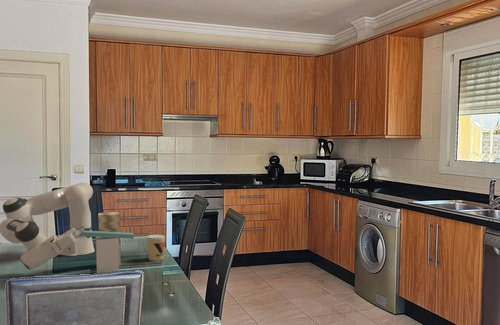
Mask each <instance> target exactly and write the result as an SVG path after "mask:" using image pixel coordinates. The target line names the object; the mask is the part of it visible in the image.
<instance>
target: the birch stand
mask: <svg viewBox="0 0 500 325" xmlns="http://www.w3.org/2000/svg"><path fill="white" fill-rule="evenodd" d="M97 215H98V216H97V217H98V218H97V219H98V231H104V232H121V224H120V223H121V218H120V215H121V214H120V211H115V212H113V211H111V212H98V214H97ZM118 242H119V267H121V266H122V263H121V262H122V259H121V238H118Z"/></svg>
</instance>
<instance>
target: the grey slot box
mask: <svg viewBox="0 0 500 325" xmlns="http://www.w3.org/2000/svg"><path fill="white" fill-rule="evenodd" d="M95 243H96V245H95V247H96V249H95V250H96V252H95V253H96V254H95V255H96V274H97V273H100V272H106V271H107V272H109V271H118V270H119V271H120V266H119V242H118V238H105V237H95Z"/></svg>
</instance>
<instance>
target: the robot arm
mask: <svg viewBox="0 0 500 325" xmlns="http://www.w3.org/2000/svg"><path fill="white" fill-rule="evenodd" d="M93 193H94V190H93V187H92V186H91V185H90V184H88V183H86V182H79V183H76V184H73V185H69V186H65V187H62V188H58V189H55V190H51V191H47V192H44V193H40V194H37V195H34V196H32V197H30V198H28V199H26V198H21V197H12V198H10V199H8V200H6V201H5V202H3V205H2V210H3V212H4V214H5V216H6V219H4V220H2V221H1V222H0V235H1V236H2V237H3V238H4V239H5V240H6V241H8V242H10V243H12V244H18V245H19V244H22V245H23V246H24V248H26V252H25V253H23V254H22V255H21V256H20V257H19V259H20V262H21V263H22V264H23V266H24V267H26V269H27V270H30V271H31V270H34V269H36V268H39V267H40V266H42V265H44V264H46V263H47V262H49V260H51V259H52V258H55V257H58V255H61V256H69V257H75V256H83V255H89V254H92V253H94V252H95V250H96V249H95V248H94V247H95V246H94V243H93V242H94V241H93V237H84V236H78V235H79V234H81V233H82V232H84V231H93V227H92V212H91V210H90V205H89V200H90V199H91V198H92V197H93ZM65 208H68V211H69V221H70V222H69V223H70V224H69V225H70V228H68V229H66V231H65V232H64V233H62V234H58V235H56V234H53V235H52V236H50V237H47V235H46V234H44V231H42V229H40V227H39V226H38V224H37V222H35V221H34V218H33V216H38V215H44V214H47V213H51V212H55V211H58V210H62V209H65ZM72 230H78V231H76V232H74V233H73V232H72Z"/></svg>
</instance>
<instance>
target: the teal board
mask: <svg viewBox="0 0 500 325" xmlns="http://www.w3.org/2000/svg"><path fill="white" fill-rule="evenodd" d="M76 231H78V230H72V232H73V233H74V232H76ZM78 236H84V237H92V238H96V237H105V238H120V239H129V240H134V238H135V234H134V232H122V231H120V232H104V231H99V230H92V231H84V232H82V233H81V234H79V235H78Z"/></svg>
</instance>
